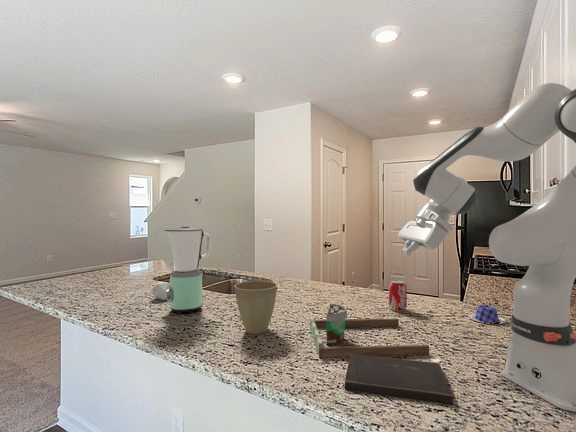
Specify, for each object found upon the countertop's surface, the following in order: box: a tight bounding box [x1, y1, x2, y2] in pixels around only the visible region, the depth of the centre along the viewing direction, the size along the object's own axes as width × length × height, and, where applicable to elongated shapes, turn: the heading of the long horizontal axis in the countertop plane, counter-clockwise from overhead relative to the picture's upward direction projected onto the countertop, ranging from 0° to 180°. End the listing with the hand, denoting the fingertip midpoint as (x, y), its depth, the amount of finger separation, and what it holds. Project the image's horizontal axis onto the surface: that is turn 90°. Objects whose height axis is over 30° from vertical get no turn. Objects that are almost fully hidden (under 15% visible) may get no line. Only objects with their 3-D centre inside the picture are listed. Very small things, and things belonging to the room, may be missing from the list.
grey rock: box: [151, 281, 170, 301], centre depth 154 cm, size 8×9×10 cm
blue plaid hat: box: [468, 304, 507, 325], centre depth 123 cm, size 12×12×5 cm
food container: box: [325, 303, 348, 346], centre depth 105 cm, size 12×6×10 cm, turn 167°
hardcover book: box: [344, 354, 454, 406], centre depth 80 cm, size 16×23×2 cm
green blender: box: [164, 226, 212, 315], centre depth 137 cm, size 19×13×35 cm
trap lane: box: [309, 315, 430, 358], centre depth 105 cm, size 24×32×4 cm
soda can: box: [388, 279, 408, 313], centre depth 136 cm, size 7×7×12 cm
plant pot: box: [234, 280, 278, 335], centre depth 113 cm, size 15×15×16 cm
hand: (405, 253), depth 106 cm, fingers closed
